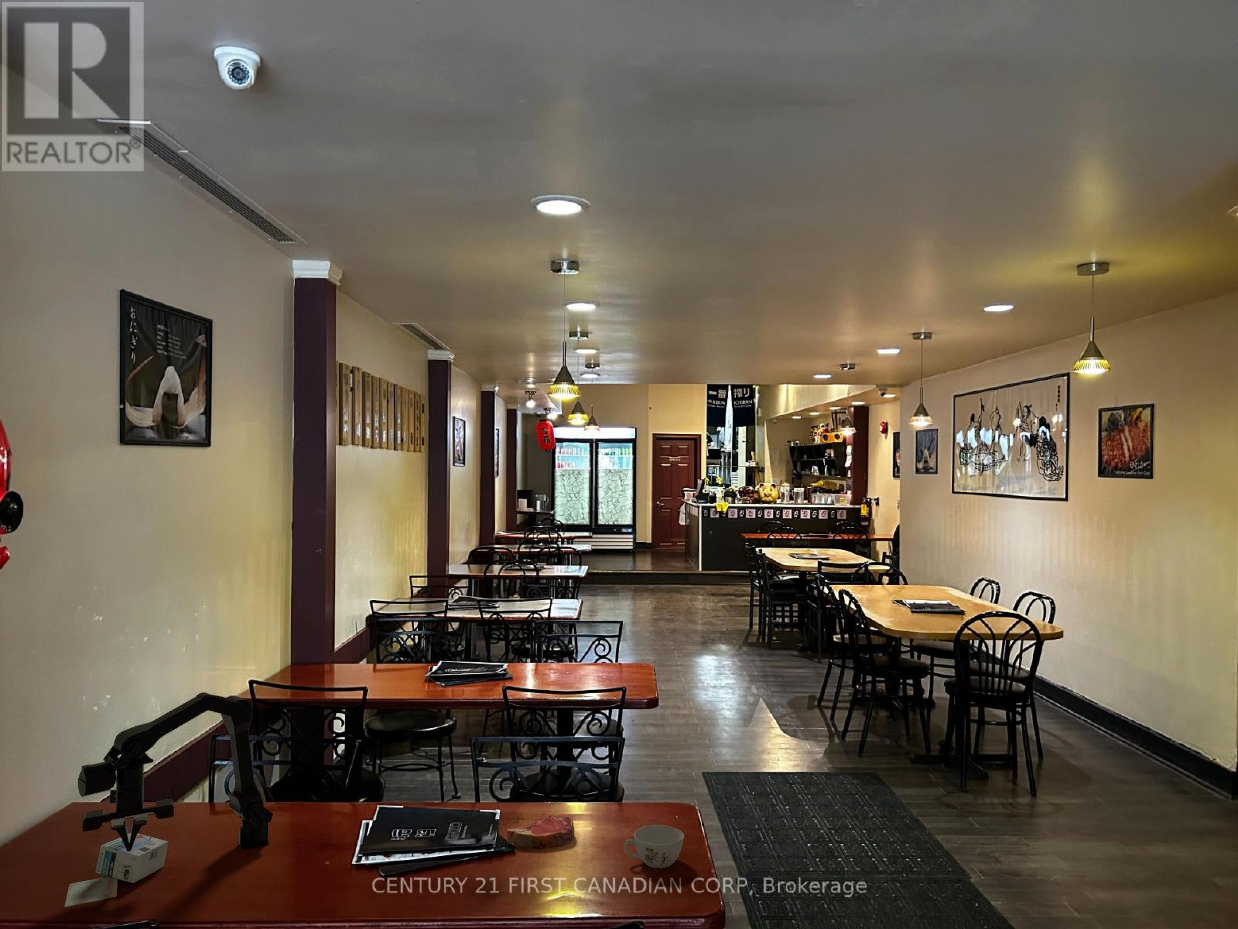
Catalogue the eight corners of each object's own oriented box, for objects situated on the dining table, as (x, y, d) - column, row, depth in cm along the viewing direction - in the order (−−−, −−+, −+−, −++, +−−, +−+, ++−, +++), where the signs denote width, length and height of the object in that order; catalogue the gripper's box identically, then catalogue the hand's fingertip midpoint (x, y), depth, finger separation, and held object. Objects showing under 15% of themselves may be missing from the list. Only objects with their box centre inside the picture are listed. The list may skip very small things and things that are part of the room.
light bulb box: (138, 856, 201) (99, 845, 203) (132, 885, 201) (93, 873, 203) (169, 840, 212) (132, 830, 214) (164, 868, 211) (126, 857, 213)
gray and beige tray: (118, 876, 206) (118, 870, 206) (116, 898, 196) (116, 891, 196) (69, 885, 202) (69, 879, 202) (64, 908, 191) (64, 902, 191)
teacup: (679, 853, 220) (679, 822, 220) (687, 876, 208) (687, 843, 208) (621, 855, 219) (622, 824, 219) (626, 878, 207) (626, 845, 207)
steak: (580, 824, 240) (580, 805, 240) (598, 857, 219) (598, 836, 220) (491, 834, 233) (491, 814, 233) (501, 869, 213) (501, 847, 213)
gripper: (173, 768, 214) (172, 830, 214) (86, 780, 205) (85, 845, 205) (174, 782, 204) (173, 848, 204) (82, 796, 195) (81, 864, 195)
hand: (129, 850), depth 202 cm, fingers closed
